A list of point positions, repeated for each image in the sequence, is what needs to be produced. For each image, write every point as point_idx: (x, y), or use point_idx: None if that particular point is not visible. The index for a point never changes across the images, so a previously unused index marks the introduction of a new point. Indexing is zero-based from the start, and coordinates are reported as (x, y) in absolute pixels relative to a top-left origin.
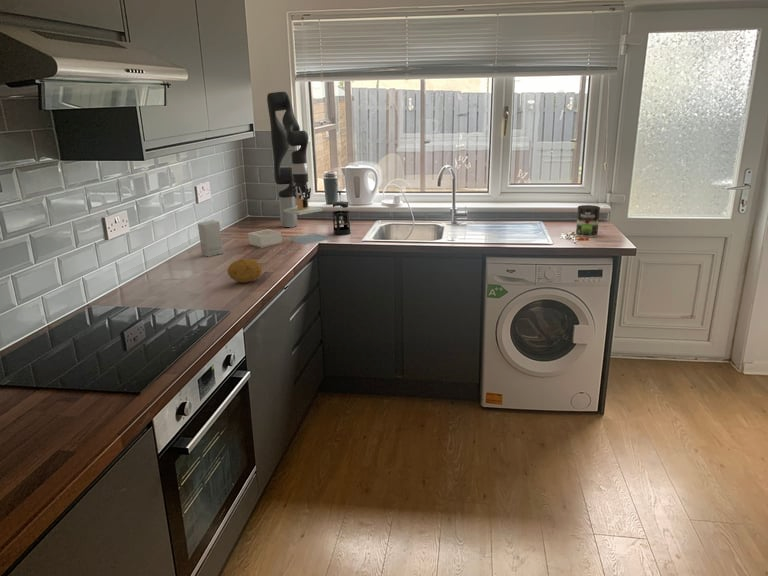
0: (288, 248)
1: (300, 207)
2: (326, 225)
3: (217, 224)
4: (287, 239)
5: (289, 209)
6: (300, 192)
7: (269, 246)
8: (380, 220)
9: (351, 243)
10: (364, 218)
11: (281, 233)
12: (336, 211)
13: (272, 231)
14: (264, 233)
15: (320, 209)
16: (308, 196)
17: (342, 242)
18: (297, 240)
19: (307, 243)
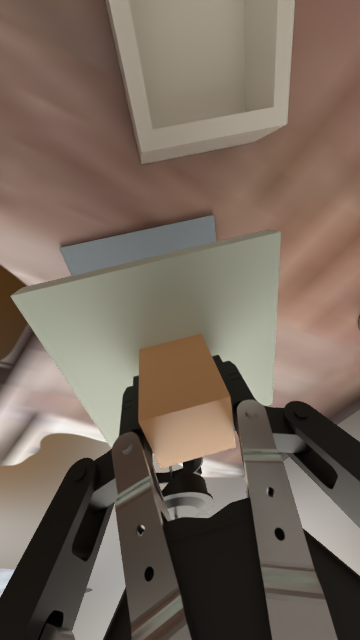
0: (25, 147)
1: (156, 355)
2: (295, 391)
3: None
4: (199, 220)
5: (232, 275)
6: (157, 541)
7: (117, 56)
8: (239, 474)
9: (21, 386)
10: (282, 459)
11: (141, 153)
12: (201, 457)
13: (221, 117)
14: (264, 73)
15: (107, 436)
16: (93, 514)
17: (49, 370)
18: (153, 250)
19: (72, 264)
